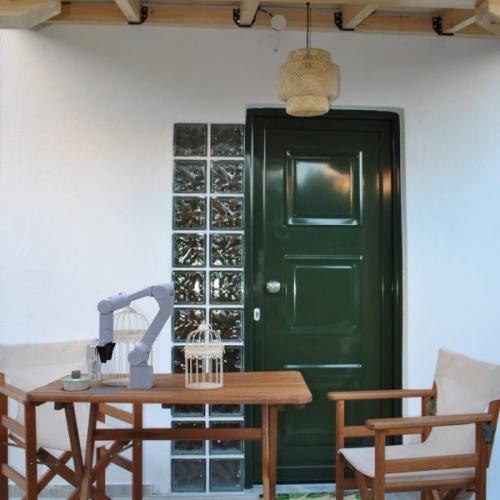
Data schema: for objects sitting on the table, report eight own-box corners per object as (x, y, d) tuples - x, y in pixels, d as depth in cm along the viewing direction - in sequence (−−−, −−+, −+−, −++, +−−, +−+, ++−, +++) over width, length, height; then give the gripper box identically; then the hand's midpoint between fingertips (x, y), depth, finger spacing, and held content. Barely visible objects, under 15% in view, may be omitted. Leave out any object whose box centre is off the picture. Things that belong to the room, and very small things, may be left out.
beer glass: (98, 382, 274) (98, 346, 274) (83, 381, 275) (83, 346, 276) (105, 379, 281) (105, 344, 281) (90, 378, 282) (90, 344, 283)
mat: (123, 388, 262) (123, 387, 262) (115, 394, 249) (115, 393, 249) (92, 387, 263) (92, 386, 263) (82, 394, 250) (82, 393, 250)
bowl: (90, 387, 264) (90, 377, 264) (83, 391, 255) (83, 381, 255) (68, 387, 264) (68, 377, 264) (61, 391, 255) (61, 381, 255)
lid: (95, 377, 265) (95, 368, 265) (86, 382, 253) (86, 373, 253) (66, 376, 266) (66, 368, 266) (56, 382, 254) (56, 373, 254)
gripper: (101, 326, 275) (101, 358, 274) (91, 330, 260) (91, 364, 260) (117, 326, 274) (117, 359, 274) (109, 330, 260) (108, 364, 260)
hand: (106, 361), depth 267 cm, fingers open, 7 cm apart
